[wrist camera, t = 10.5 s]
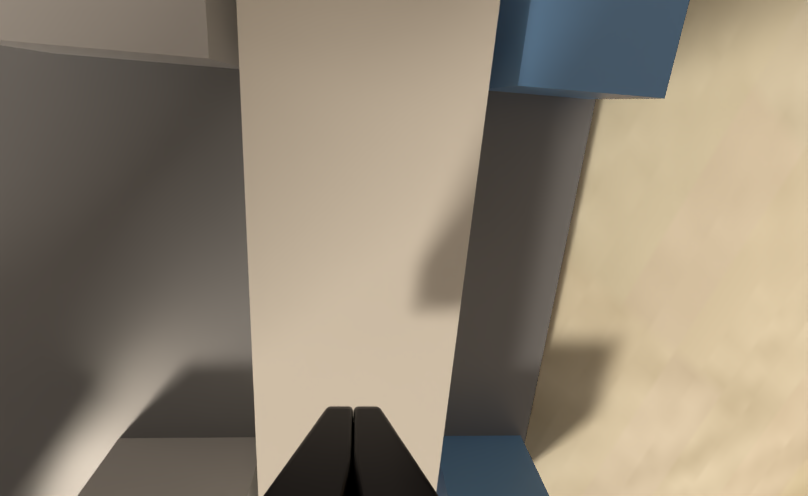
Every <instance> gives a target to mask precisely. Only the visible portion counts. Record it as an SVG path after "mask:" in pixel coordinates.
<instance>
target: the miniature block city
mask: <svg viewBox="0 0 808 496" xmlns="http://www.w3.org/2000/svg"><path fill="white" fill-rule="evenodd" d="M689 1H690V0H500V6H499V14H498V22H497V29H496V37H495V45H494V53H493V60H492V68H491V76H490V83H489V91H488V99H487V106H486V114H485V122H484V129H483V137H482V145H481V152H480V160H479V168H478V175H477V183H476V191H475V198H474V206H473V214H472V222H471V229H470V237H469V245H468V252H467V260H466V268H465V275H464V283H463V291H462V298H461V306H460V314H459V321H458V329H457V337H456V344H455V352H454V360H453V367H452V375H451V383H450V391H449V398H448V406H447V414H446V421H445V429H444V437H443V444H442V452H441V460H440V467H439V475H438V483H437V490H436V493H437V494H438V496H549V495H548V492H547V490H546V488H545V486H544V484H543V482H542V480H541V478H540V475H539V473H538V471H537V469H536V467H535V465H534V463H533V461H532V459H531V456H530V454H529V452H528V450H527V448H526V446H525V444H524V443H525V438H526V434H527V429H528V424H529V419H530V414H531V410H532V405H533V400H534V395H535V390H536V385H537V381H538V376H539V371H540V366H541V361H542V356H543V352H544V347H545V342H546V337H547V332H548V328H549V323H550V318H551V313H552V308H553V303H554V299H555V294H556V289H557V284H558V279H559V274H560V270H561V265H562V260H563V255H564V250H565V246H566V241H567V236H568V231H569V226H570V221H571V217H572V212H573V207H574V202H575V197H576V192H577V188H578V183H579V178H580V173H581V168H582V164H583V159H584V154H585V149H586V144H587V139H588V135H589V130H590V125H591V120H592V115H593V110H594V106H595V101H596V99H661V98H665V95H666V91H667V87H668V83H669V79H670V75H671V71H672V67H673V63H674V59H675V56H676V52H677V48H678V44H679V40H680V36H681V32H682V28H683V24H684V20H685V16H686V13H687V9H688V5H689ZM0 496H258V478H257V455H256V433H255V410H254V388H253V365H252V342H251V320H250V297H249V275H248V252H247V230H246V207H245V184H244V162H243V139H242V117H241V94H240V72H239V49H238V26H237V4H236V0H0Z"/></svg>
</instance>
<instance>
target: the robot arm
mask: <svg viewBox="0 0 808 496" xmlns="http://www.w3.org/2000/svg"><path fill="white" fill-rule="evenodd" d="M264 496H438V494H437V493H436V491H435V490H434V488H433V487H432V485H431V484H430V482H429V481H428V479H427V478H426V476H425V475H424V473H423V472H422V470H421V469H420V467H419V466H418V464H417V463H416V461H415V459H414V458H413V456H412V455H411V453H410V452H409V450H408V449H407V447H406V446H405V444H404V443H403V441H402V440H401V438H400V437H399V435H398V434H397V432H396V431H395V429H394V428H393V426H392V425H391V423H390V422H389V420H388V419H387V417H386V416H385V414H384V413H383V411H382V410H381V408H379V407H377V406H357V407H355V409H354V412H353V409H352V407H350V406H330V407H327V408H326V409H325V411H324V412H323V413H322V415H321V416H320V417H319V419H318V420H317V422H316V423H315V424H314V426H313V427H312V429H311V430H310V431H309V433H308V434H307V436H306V437H305V438H304V440H303V441H302V443H301V444H300V445H299V447H298V448H297V450H296V451H295V452H294V454H293V455H292V457H291V458H290V459H289V461H288V462H287V463H286V465H285V466H284V468H283V469H282V470H281V472H280V473H279V475H278V476H277V477H276V479H275V480H274V482H273V483H272V484H271V486H270V487H269V489H268V490H267V491H266V493H265V494H264Z"/></svg>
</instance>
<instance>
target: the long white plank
mask: <svg viewBox="0 0 808 496" xmlns="http://www.w3.org/2000/svg"><path fill="white" fill-rule="evenodd" d="M236 4H237V26H238V49H239V72H240V94H241V117H242V139H243V162H244V184H245V207H246V230H247V252H248V275H249V297H250V320H251V342H252V365H253V388H254V410H255V433H256V455H257V478H258V496H264V494H265V493H266V491H267V490H268V489H269V487H270V486H271V484H272V483H273V482H274V480H275V479H276V477H277V476H278V475H279V473H280V472H281V470H282V469H283V468H284V466H285V465H286V463H287V462H288V461H289V459H290V458H291V457H292V455H293V454H294V452H295V451H296V450H297V448H298V447H299V445H300V444H301V443H302V441H303V440H304V438H305V437H306V436H307V434H308V433H309V431H310V430H311V429H312V427H313V426H314V424H315V423H316V422H317V420H318V419H319V417H320V416H321V415H322V413H323V412H324V411H325V409H326V408H327V407H330V406H350V407H352V409H353V412H354V409H355V407H357V406H377V407H379V408H381V410H382V411H383V413H384V414H385V416H386V417H387V419H388V420H389V422H390V423H391V425H392V426H393V428H394V429H395V431H396V432H397V434H398V435H399V437H400V438H401V440H402V441H403V443H404V444H405V446H406V447H407V449H408V450H409V452H410V453H411V455H412V456H413V458H414V459H415V461H416V463H417V464H418V466H419V467H420V469H421V470H422V472H423V473H424V475H425V476H426V478H427V479H428V481H429V482H430V484H431V485H432V487H433V488H434V490H435V491H436V490H437V483H438V475H439V467H440V460H441V452H442V444H443V437H444V429H445V421H446V414H447V406H448V398H449V391H450V383H451V375H452V367H453V360H454V352H455V344H456V337H457V329H458V321H459V314H460V306H461V298H462V291H463V283H464V275H465V268H466V260H467V252H468V245H469V237H470V229H471V222H472V214H473V206H474V198H475V191H476V183H477V175H478V168H479V160H480V152H481V145H482V137H483V129H484V122H485V114H486V106H487V99H488V91H489V83H490V76H491V68H492V60H493V53H494V45H495V37H496V29H497V22H498V14H499V6H500V0H236Z"/></svg>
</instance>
